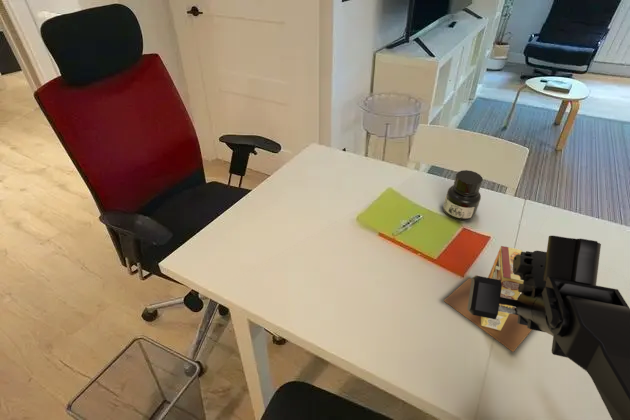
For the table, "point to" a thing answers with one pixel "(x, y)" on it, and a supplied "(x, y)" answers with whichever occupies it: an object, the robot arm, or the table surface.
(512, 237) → the table surface
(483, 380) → the table surface
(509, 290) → the candy box
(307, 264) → the table surface
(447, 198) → the ink bottle
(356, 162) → the table surface
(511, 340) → the cork mat
